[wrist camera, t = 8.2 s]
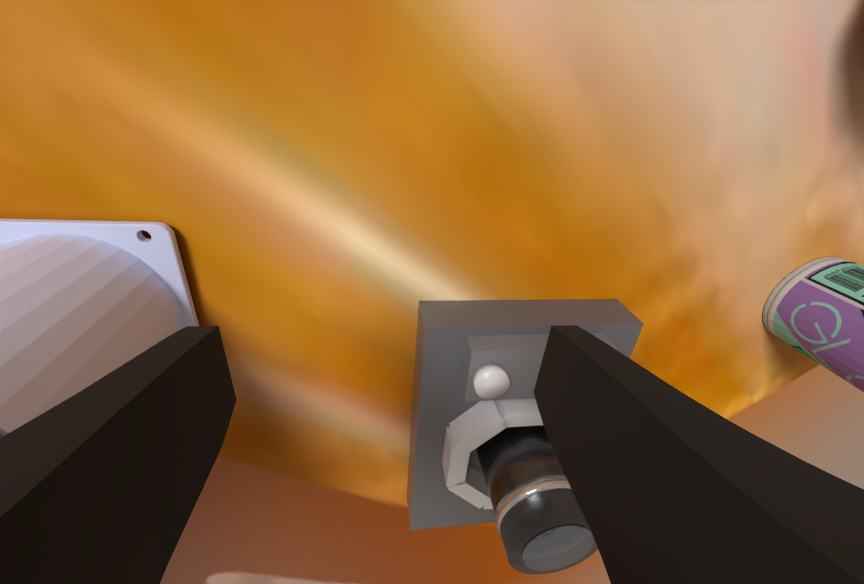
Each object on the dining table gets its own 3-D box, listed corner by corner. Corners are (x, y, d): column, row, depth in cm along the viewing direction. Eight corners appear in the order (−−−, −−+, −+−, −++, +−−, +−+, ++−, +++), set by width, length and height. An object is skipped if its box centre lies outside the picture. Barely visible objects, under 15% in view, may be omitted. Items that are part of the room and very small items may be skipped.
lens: (471, 466, 23) (503, 585, 17) (475, 411, 20) (513, 527, 15) (543, 457, 23) (596, 569, 18) (555, 402, 21) (619, 510, 16)
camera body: (407, 495, 27) (412, 560, 23) (419, 301, 19) (429, 352, 16) (552, 483, 29) (578, 541, 25) (616, 299, 21) (667, 345, 18)
